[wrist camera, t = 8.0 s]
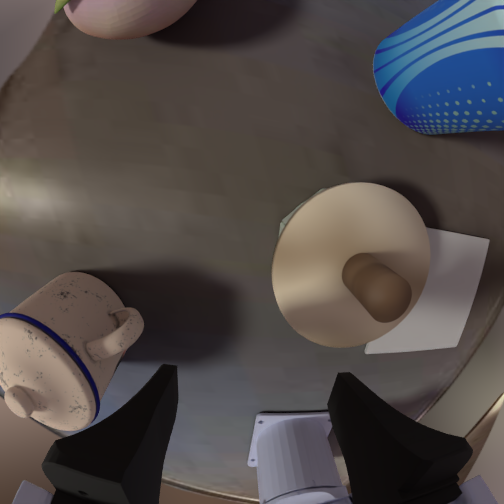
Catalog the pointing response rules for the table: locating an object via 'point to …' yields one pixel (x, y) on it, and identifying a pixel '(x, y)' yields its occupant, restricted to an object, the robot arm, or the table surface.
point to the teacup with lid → (64, 350)
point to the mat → (440, 296)
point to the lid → (350, 264)
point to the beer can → (446, 68)
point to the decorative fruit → (123, 16)
